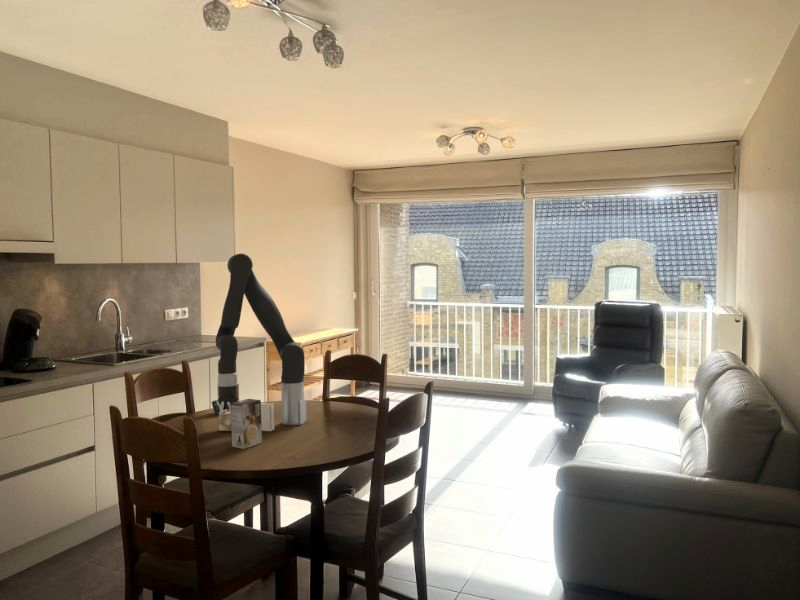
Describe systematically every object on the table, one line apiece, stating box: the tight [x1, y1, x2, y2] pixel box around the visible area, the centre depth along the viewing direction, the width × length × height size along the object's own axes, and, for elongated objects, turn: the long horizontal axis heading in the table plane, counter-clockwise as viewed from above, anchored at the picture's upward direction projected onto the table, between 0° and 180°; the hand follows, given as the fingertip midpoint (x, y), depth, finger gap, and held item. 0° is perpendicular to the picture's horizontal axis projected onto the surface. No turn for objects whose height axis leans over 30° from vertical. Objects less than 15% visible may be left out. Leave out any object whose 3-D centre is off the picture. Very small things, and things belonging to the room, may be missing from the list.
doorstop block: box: [218, 412, 232, 432], centre depth 246 cm, size 4×7×6 cm, turn 165°
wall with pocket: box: [261, 402, 275, 432], centre depth 245 cm, size 9×3×11 cm, turn 76°
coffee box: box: [231, 398, 263, 450], centre depth 224 cm, size 9×6×16 cm
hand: (228, 426), depth 246 cm, fingers closed on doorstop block, 4 cm apart
